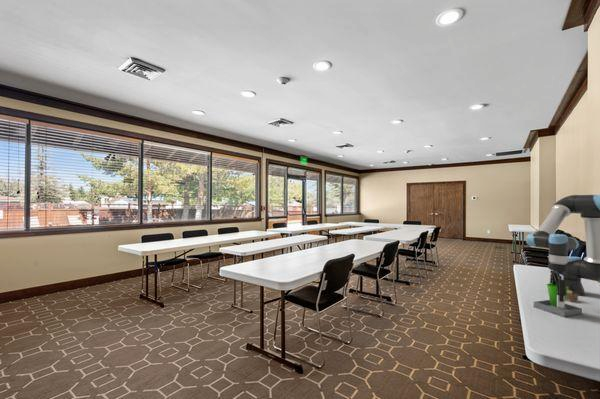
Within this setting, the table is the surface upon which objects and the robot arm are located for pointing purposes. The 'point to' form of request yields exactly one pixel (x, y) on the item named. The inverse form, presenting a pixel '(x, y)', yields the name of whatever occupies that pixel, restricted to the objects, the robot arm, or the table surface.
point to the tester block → (571, 297)
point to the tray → (558, 309)
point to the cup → (554, 294)
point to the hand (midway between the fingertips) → (557, 304)
